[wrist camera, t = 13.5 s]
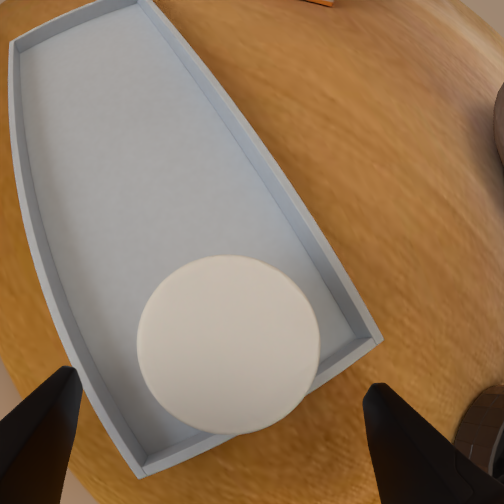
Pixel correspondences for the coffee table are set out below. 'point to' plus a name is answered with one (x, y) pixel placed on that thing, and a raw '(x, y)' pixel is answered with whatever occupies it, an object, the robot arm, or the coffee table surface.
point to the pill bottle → (228, 344)
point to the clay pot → (499, 122)
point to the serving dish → (150, 206)
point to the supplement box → (323, 2)
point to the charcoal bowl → (485, 432)
